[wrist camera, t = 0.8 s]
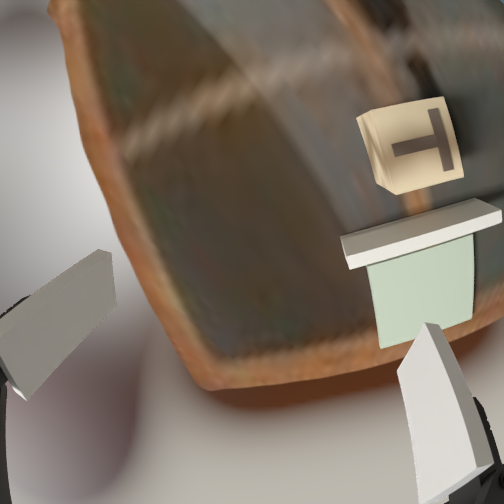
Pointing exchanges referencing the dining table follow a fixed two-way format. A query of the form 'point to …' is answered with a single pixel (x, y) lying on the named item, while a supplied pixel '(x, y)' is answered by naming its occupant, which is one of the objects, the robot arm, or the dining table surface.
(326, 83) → the dining table surface
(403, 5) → the dining table surface
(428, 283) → the display pad
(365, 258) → the white slab
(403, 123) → the maple cube
